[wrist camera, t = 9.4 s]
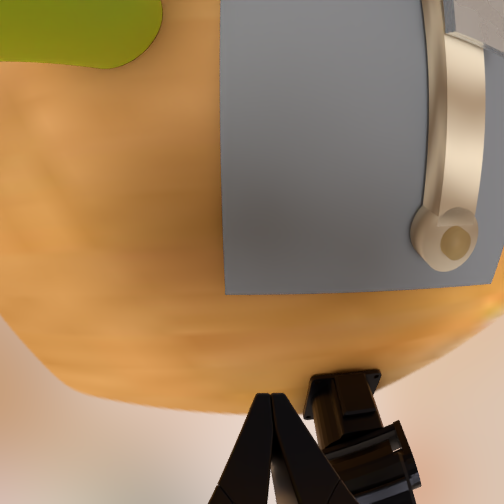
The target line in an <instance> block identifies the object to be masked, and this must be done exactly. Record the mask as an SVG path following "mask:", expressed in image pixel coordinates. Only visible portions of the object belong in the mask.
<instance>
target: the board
mask: <svg viewBox="0 0 504 504" xmlns="http://www.w3.org/2000/svg"><path fill="white" fill-rule="evenodd" d="M483 51H484V65H485V134H484V149H483V160H482V170H481V178H480V186H479V193H478V200H477V206H476V212H475V218H476V220H477V223H478V239H477V242H476V245H475V248H474V250H473V252H472V253H471V255H470V256H469V258H468V259H467V260H466V261H465V262H464V263H463V264H462V265H460V266H459V267H457V268H456V269H454V270H451V271H447V272H440V271H436V270H434V269H433V268H431V267H430V266H429V264H428V263H427V262H426V261H425V260H424V259H423V258H422V257H421V256H420V255H419V254H418V253H417V251H416V250H415V249H414V248H413V245H412V243H411V238H410V230H411V225H412V222H413V219H414V217H415V215H416V213H417V212H418V210H419V209H420V208H421V207H422V206H423V199H424V190H425V180H426V168H427V154H428V134H429V75H428V56H427V43H426V32H425V22H424V14H423V7H422V0H221V4H220V144H221V189H222V223H223V250H224V274H225V295H266V294H318V293H349V292H373V291H394V290H412V289H428V288H443V287H456V286H469V285H481V284H491V282H492V279H493V277H494V274H495V271H496V268H497V265H498V262H499V259H500V256H501V253H502V249H503V246H504V58H503V57H501V56H499V55H496V54H494V53H492V52H490V51H488V50H486V49H483Z"/></svg>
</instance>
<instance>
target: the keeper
mask: <svg viewBox="0 0 504 504" xmlns="http://www.w3.org/2000/svg"><path fill="white" fill-rule="evenodd" d="M443 4H444V17H445V33H446V34H449V35H451V36H454V37H457V38H459V39H462V40H464V41H467V42H469V43H472V44H474V45H476V46H479V47H481V48H483V49H486V50H488V51H490V52H492V53H494V54H496V55H499V56H501V57H503V58H504V0H443Z"/></svg>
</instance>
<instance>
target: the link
mask: <svg viewBox="0 0 504 504" xmlns="http://www.w3.org/2000/svg"><path fill="white" fill-rule="evenodd" d="M422 7H423V14H424V22H425V32H426V43H427V56H428V75H429V134H428V154H427V168H426V180H425V190H424V199H423V206H422V207H421V208H420V209H419V210H418V212H417V213H416V215H415V217H414V219H413V222H412V225H411V230H410V238H411V243H412V245H413V248H414V249H415V250H416V251H417V253H418V254H419V255H420V256H421V257H422V258H423V259H424V260H425V261H426V262H427V263H428V264H429V266H430V267H431V268H433V269H434V270H436V271H440V272H447V271H451V270H454V269H456V268H457V267H459V266H460V265H462V264H463V263H464V262H465V261H466V260H467V259H468V258H469V256H470V255H471V253H472V252H473V250H474V248H475V245H476V242H477V239H478V223H477V220H476V218H475V212H476V206H477V200H478V193H479V186H480V178H481V170H482V160H483V149H484V134H485V65H484V51H483V48H481V47H479V46H476V45H474V44H472V43H469V42H467V41H464V40H462V39H459V38H457V37H454V36H451V35H449V34H446V33H445V17H444V4H443V0H422Z"/></svg>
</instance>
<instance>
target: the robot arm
mask: <svg viewBox="0 0 504 504" xmlns="http://www.w3.org/2000/svg"><path fill="white" fill-rule="evenodd" d="M380 378H381V372H380V370H371V371H362V372H353V373H343V374H331V375H318V376H314V377H312V378H311V380H310V384H309V389H308V394H307V398H306V403H305V407H304V412H303V417H304V419H305V420H311V419H314V423H315V429H316V434H317V440H318V444H317V443H316V441H315V440H314V439H313V437H312V435H311V434H310V432H309V431H308V429H307V428H306V426H305V425H304V423H303V422H302V420H301V418H300V417H299V415H298V414H297V412H296V411H295V409H294V408H293V406H292V404H291V403H290V401H289V400H288V398H287V397H286V395H285V394H284V393H271V394H269V393H257V394H256V395H255V397H254V400H253V402H252V405H251V407H250V410H249V412H248V415H247V417H246V419H245V422H244V424H243V427H242V429H241V432H240V434H239V436H238V439H237V441H236V443H235V446H234V448H233V450H232V452H231V455H230V457H229V459H228V462H227V464H226V466H225V468H224V471H223V473H222V475H221V477H220V480H219V482H218V485H217V486H216V488H215V490H214V492H213V495H212V497H211V499H210V500H209V502H208V504H267V500H268V489H269V480H270V470H271V473H272V478H273V484H274V490H275V496H276V502H277V504H416V501H415V498H414V494H413V489H416V488H418V487H421V482H420V478H419V474H418V470H417V467H416V464H415V461H414V458H413V455H412V452H411V449H410V447H409V444H408V442H407V439H406V437H405V434H404V431H403V429H402V426H401V424H400V421H399V420H398V421H395V422H393V424H391V425H388V426H386V427H383V424H382V421H381V418H380V415H379V412H378V409H377V406H376V403H375V400H374V398H373V394H374V392H375V390H376V387H377V385H378V383H379V380H380ZM399 448H400V449H399ZM396 449H399V450H397V451H395V452H393V451H394V450H396Z"/></svg>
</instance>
